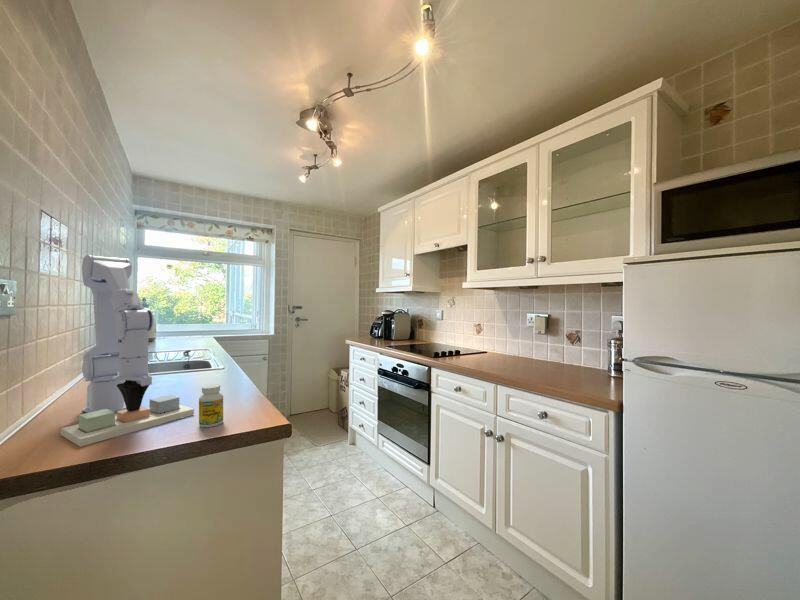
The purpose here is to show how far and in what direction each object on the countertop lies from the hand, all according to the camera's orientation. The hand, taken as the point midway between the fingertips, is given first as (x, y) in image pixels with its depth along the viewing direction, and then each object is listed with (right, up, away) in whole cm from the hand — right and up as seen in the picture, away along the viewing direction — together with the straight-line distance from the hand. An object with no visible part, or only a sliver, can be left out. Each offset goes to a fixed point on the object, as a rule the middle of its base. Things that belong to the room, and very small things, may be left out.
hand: (133, 410), depth 82 cm
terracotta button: (0, -3, 0) cm, 3 cm away
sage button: (-3, -2, -6) cm, 7 cm away
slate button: (+4, -2, +6) cm, 7 cm away
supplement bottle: (+20, -4, 0) cm, 20 cm away
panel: (0, -3, 0) cm, 3 cm away
